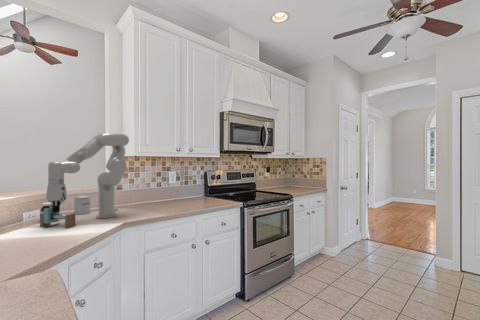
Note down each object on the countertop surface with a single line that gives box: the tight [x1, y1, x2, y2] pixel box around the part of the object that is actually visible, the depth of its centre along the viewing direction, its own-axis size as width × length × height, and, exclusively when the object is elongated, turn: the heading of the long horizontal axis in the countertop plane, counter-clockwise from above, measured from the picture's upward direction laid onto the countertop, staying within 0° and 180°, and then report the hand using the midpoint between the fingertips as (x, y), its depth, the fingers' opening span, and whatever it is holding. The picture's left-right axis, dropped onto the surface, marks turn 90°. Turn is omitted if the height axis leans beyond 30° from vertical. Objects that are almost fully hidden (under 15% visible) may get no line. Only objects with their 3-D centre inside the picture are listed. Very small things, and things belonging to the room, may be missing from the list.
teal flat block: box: [44, 207, 60, 224], centre depth 143 cm, size 3×7×8 cm, turn 170°
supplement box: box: [73, 195, 91, 216], centre depth 176 cm, size 7×7×13 cm
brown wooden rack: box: [39, 212, 76, 229], centre depth 142 cm, size 20×9×8 cm, turn 80°
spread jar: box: [40, 201, 62, 221], centre depth 156 cm, size 12×11×12 cm
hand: (56, 212), depth 142 cm, fingers closed
